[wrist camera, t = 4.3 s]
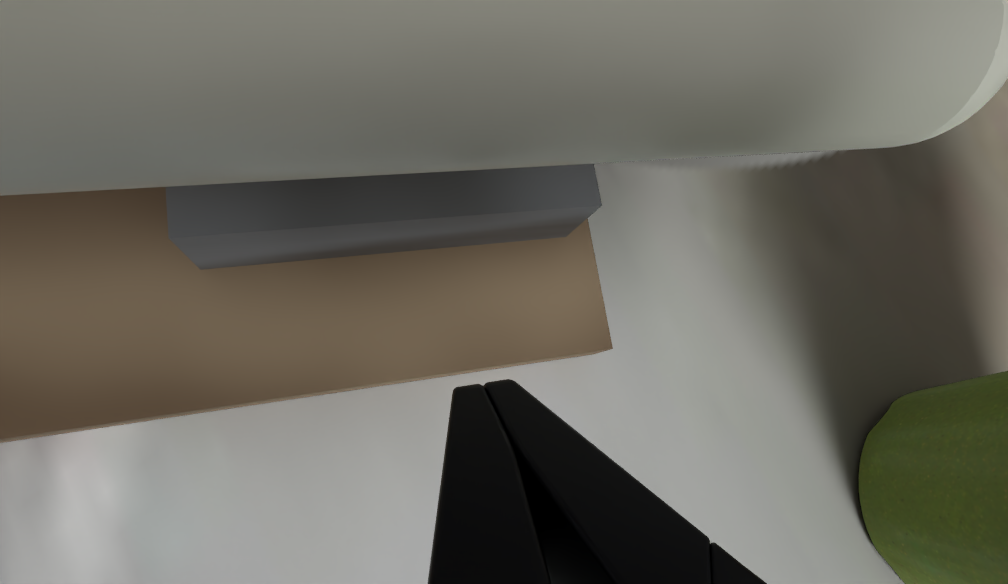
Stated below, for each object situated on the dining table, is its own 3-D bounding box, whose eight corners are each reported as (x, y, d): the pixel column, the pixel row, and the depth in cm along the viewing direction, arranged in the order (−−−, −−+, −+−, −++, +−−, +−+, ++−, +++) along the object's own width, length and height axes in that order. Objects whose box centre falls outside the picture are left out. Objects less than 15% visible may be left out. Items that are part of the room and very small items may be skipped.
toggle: (596, 149, 15) (1062, 142, 6) (160, 170, 12) (-387, 223, 3) (596, 66, 14) (1106, -98, 5) (141, 68, 12) (-596, -276, 2)
